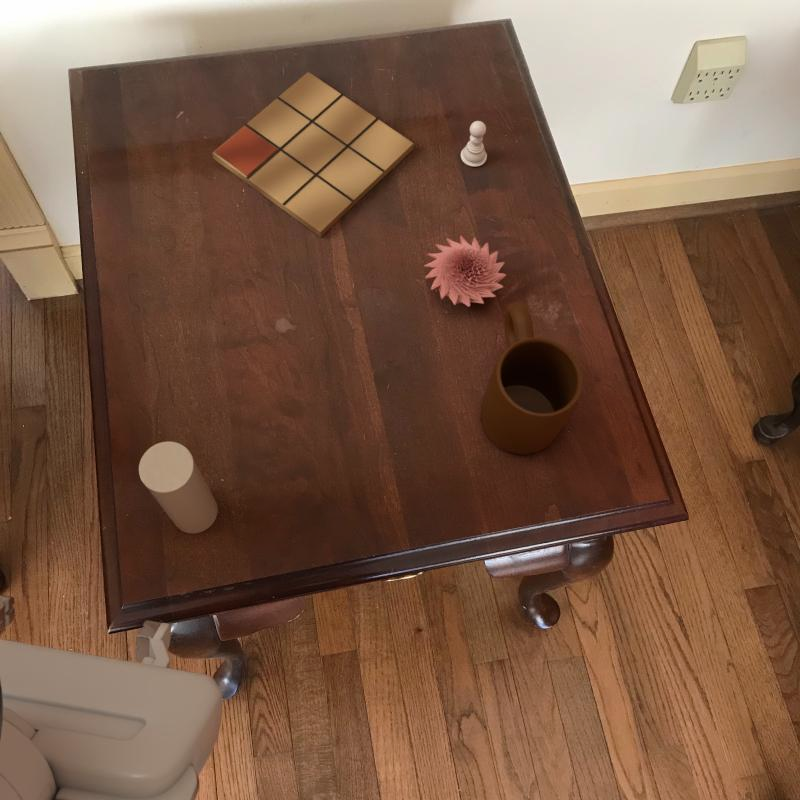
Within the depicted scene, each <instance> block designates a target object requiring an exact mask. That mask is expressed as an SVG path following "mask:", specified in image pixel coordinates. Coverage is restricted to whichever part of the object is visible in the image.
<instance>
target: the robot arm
mask: <svg viewBox="0 0 800 800" xmlns="http://www.w3.org/2000/svg"><path fill="white" fill-rule="evenodd" d="M14 605H15V597H13V596H10V595H4V594H0V636H2V635H3V633H5V631H6V627H9V626H10V625H11V624H12V623H13V621H14V619H15V614H16V609H15V608H14ZM142 624H143V625H142V627H140V628H139V630H138V632H137V633H136V635H135V646H136V647H137V648H136V650H135V661H136V662H135V661H130V660H125V659H119V658H112V657H108V656H101V655H95V654H89V653H85V652H84V653H83V652H78V651H72V650H66V649H61V648H55V647H50V646H44V645H38V644H32V643H26V642H21V641H14V640H9V639H4V638H0V800H196V798H197V795H198V793H199V789H200V778H199V776H200V774H201V773H202V770H203V769H204V767H205V765H206V763H207V762H208V760H209V758H210V756H211V754H212V752H213V750H214V747H215V746H216V743H217V741H218V738H219V734H220V729H221V723H222V714H223V692H222V690H221V688H220V686H219V684H218V683H217V682H216V680H215V678H214V677H212V675H209V674H206V673H200V672H194V671H189V670H184V669H183V670H182V669H176V668H170V665H171V664H170V663H171V659H170V656H169V653H168V651H169V648H170V644H171V638H172V624H171V623H167V622H160V621H159V622H158V621H153V620H148V619H147V620H145V621H144V622H143V623H142Z"/></svg>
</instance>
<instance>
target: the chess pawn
mask: <svg viewBox="0 0 800 800" xmlns="http://www.w3.org/2000/svg"><path fill="white" fill-rule="evenodd" d="M486 133H487V126H486V124H485V122H483V121H481V120H475V121H473V122H472V123H471V124H470V126H469V134H470V135H469V141H468V142H467V143H466V145H465V146H464V147H463V149H462V150H461V151H460V159H461V161H462V162H463V163H464V164H465V165H466V166H469V167H473V168H475V167H476V168H477V167H480V166H482V165H484V164H485V163H486V161H487V159H488V158H487V157H488V153H487V152H486V148H485V145H484V142H483V140H484V136H485V135H486Z"/></svg>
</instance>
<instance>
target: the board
mask: <svg viewBox="0 0 800 800" xmlns="http://www.w3.org/2000/svg"><path fill="white" fill-rule="evenodd" d="M413 150H414V142H413V141H411V140H409V139H408V138H407V137H405V136H404V135H402V134H401V133H400V132H398V131H396V130H395V129H394V128H393V127H391V126H389V125H387V124H386V123H385V122H383V121H381V120H380V119H379V118H378V117H376V116H374V115H373V114H371V113H370V112H368V111H367V110H365V109H364V108H362V107H361V106H360V105H358V104H356V103H355V102H353V101H352V100H351V99H349V98H348V97H346V96H345V95H344V94H343V93H340V92H339V91H337V90H336V89H335V88H333V87H332V86H330V85H329V84H327V83H326V82H324V81H323V80H321V79H320V78H318V77H317V76H315V75H314V74H312V73H311V72H309V71H307V72H306V73H305V74H304V75H302V77H300V78H299V79H298V80H297V81H295V82H294V83H293V84H292V85H290V86H289V87H288V88H287V89H286V90H285V91H284V92H282V93H281V94H280V95H279V96H277V97H276V98H275V99H274V100H273V101H272V102H271V103H269V104H268V105H267V106H266V107H264V108H263V109H262V110H261V111H259V113H258V114H257V115H255V116H254V117H253V118H251V119H250V120H249V121H248V122H246V123H245V124H244V125H243V126H242V127H241V128H239V130H237V131H236V132H235V133H234V134H233V135H232V136H230V137H229V138H228V139H227V140H226V141H224V142H223V143H222V144H221V145H220V146H219V147H217V148H216V149H215V150H214V151H213V152H212V153H211V154H212V157H213V160H214V161H215V162H217V163H219V164H220V165H221V166H222V167H224V168H225V169H227V170H228V171H229V172H231V173H232V174H233V175H234V176H236V177H238V178H239V179H241V180H242V181H243V182H244V183H246V184H247V185H249V186H250V187H251V188H253V189H254V190H255V191H257V192H258V193H259V194H261V195H262V196H264V197H265V198H266V199H268V200H269V201H270V202H272V203H273V204H274V205H276V206H277V207H278V208H280V210H283V211H284V213H285V212H286V213H287V215H289V216H291V217H292V218H293V219H295V220H296V221H298V222H299V223H300V224H302V225H303V226H304V227H306V228H307V229H308V230H310V231H311V232H312V233H314V234H315V235H317V236H318V237H319V238H322V237H323V236H324V235H325V234H326V233H328V232H329V230H331V228H333V227H334V226H335V225H336V224H337V223H338V222H339V221H340V220H341V219H342V218H343V217H344V216H345V215H346V214H347V213H348V212H349V211H350V210H352V208H353V207H355V206H356V205H357V204H358V203H359V202H360V201H361V200H362V199H363V198H364V197H366V195H367V194H368V193H369V192H371V190H372V189H373V188H374V187H376V186H377V185H378V183H380V182H381V181H382V180H383V179H384V178H385V177H386V176H387V175H388V174H389V173H390V172H391V171H392V170H393V169H394V168H396V167H397V166H398V165H399V164H400V163H401V162H402V161H403V160H404V159H405V158H406V157H407V156H408V155H409V154H410V153H411V152H413Z"/></svg>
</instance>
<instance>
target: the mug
mask: <svg viewBox="0 0 800 800" xmlns="http://www.w3.org/2000/svg"><path fill="white" fill-rule="evenodd" d="M503 325H504V337H505V342H506V343H505V344H506V347H507V348H506V349H504V351H503V352H502V353H501V355H500V356H499V358H498V360H497V362H496V363H495V365H494V367H493V369H492V372H491V374H490V378H489V381H488V383H487V386H486V389H485V393H484V396H483V399H482V403H481V407H480V420H481V426H482V427H483V430H484V432H485V434H486V435H487V437H488V438H489V439H490V441H491V442H493V444H495V445H496V446H497V447H498V448H500V449H502V450H504V451H506V452H509V453H512V454H517V455H531V454H535V453H537V452H540V451H542V450H543V449H546V448H548V447H549V446H550V445H551V444H552V443H553V442H554V441H555V439H556V438H557V437H558V436H559V434H560V432H561V431H562V429H563V428H564V426H565V425H566V423H567V421H568V420H569V418H570V417H571V415H572V413H573V412H574V410H575V408H576V406H577V405H578V403H579V399H580V397H581V395H582V393H583V388H584V376H583V371H582V367H581V365H580V363H579V361H578V359H577V358H576V357H575V355H574V354H573V353H572V352H571V350H569V349H568V348H567V347H565V346H564V345H562V344H561V343H559V342H557V341H554V340H552V339H549V338H545V337H544V338H543V337H535V334H534V326H533V320H532V315H531V313H530V310H529V308H528V307H527V305H526V304H525V303H523V302H521V301H515V302H512V303H510V304H509V305H508V306H507V308H506V310H505V314H504V324H503Z"/></svg>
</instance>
